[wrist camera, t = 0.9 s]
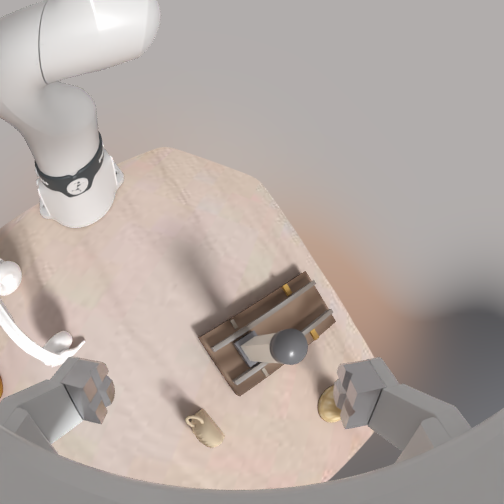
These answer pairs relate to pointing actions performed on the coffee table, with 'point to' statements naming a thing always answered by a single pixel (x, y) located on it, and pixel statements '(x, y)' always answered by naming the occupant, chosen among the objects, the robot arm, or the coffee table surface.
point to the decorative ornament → (205, 429)
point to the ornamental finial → (1, 387)
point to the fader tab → (273, 347)
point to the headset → (54, 351)
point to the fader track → (267, 329)
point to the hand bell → (328, 406)
